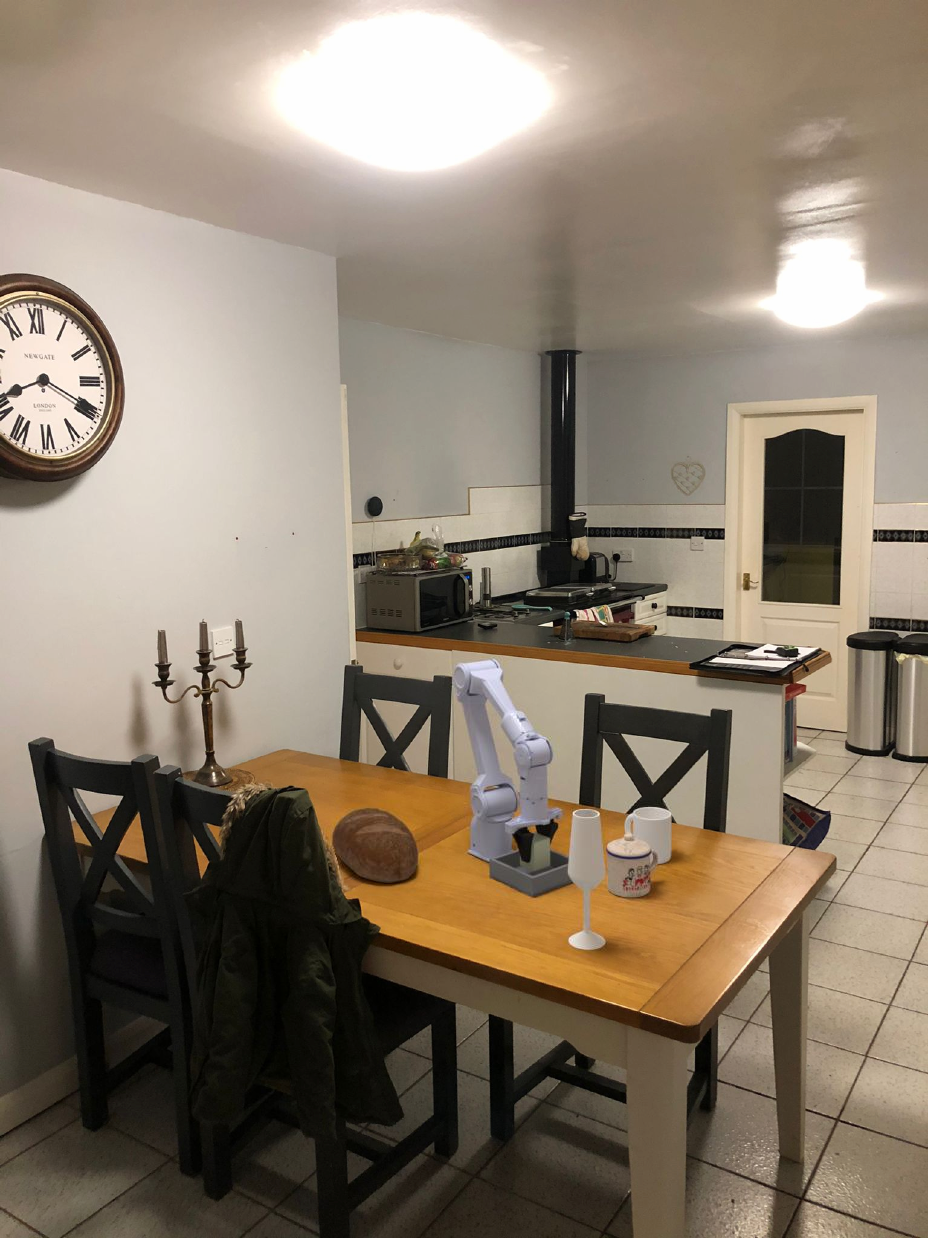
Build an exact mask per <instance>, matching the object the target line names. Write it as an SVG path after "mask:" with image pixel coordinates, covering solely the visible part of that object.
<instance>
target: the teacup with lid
mask: <svg viewBox="0 0 928 1238" xmlns="http://www.w3.org/2000/svg"><path fill="white" fill-rule="evenodd" d="M605 851H606V852H607V855H606V856H607V862H606V863H607V866H606V868H607V870H606V871H607V874H606V875H607V881H606V882H607V885H606V886H607V889H608V891H609V892H610V893H611V894H613V895H616V896H618V897H621V898H632V899H633V898H639V897H644V896H646V895H647V894H649V892H650V891H651V874H652V873H653V872H654V871H655V870H656V868H657V865H658V864H657V863H658V854H657V852H656V851H654V850H652V849H651V847H650V846H649V845H648V844H647V843H646V842H643V841H640V840H638V839H636V838H634V836H633V833H632V834H630V833H627V834H626V833H625V834H624V835H623V837H622V838H619V839H615V840H612V841H610V842H609V843H608V844H607V845H606V848H605ZM651 853H652V854H653V861H652V864H650V854H651Z"/></svg>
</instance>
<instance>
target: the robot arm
mask: <svg viewBox="0 0 928 1238" xmlns="http://www.w3.org/2000/svg"><path fill="white" fill-rule="evenodd" d="M452 682H453V687H454V690H455V694H456V699H457V702H459V703H461V707H462V712H463V717H464V719H465V724H466V729H467V732H468V738H469V741H470V745H471V749H472V754H473V759H474V762H475V767H476V771H477V778H476V779H475V780H474V782H473V783H472V784H471V786H470V788H469V792H470V807H471V811H472V814H473V815H474V816H473V818H472V819H471V822H470V826H469V827H470V828H469V829H470V849H468V850H467V853H468V854H471V855H473V856H474V857H477V858H479V859H481V860H483V861H485V862H487V863H489V859H491V858H494V857H497V856H500V855H503V854H506V853H509V852H512V851H515V850H513V839H514V841H515V844H516V846H517V850H518V849H519V853H520V857H521V861H524V862H526V863H529V862H530V860H531V845H532V840H533V837H534V833H535V832H531V831H530V829H529V828H531V827H535V830H536V833H538V834H541V835H543V836H546V837H548V838H550V846H552V845H551V844H552V841H553V839H554V836H555V834H556V832H557V831H558V829H559V823H558V822H557V821H555V820H556V819H557V820H561V819H563V809H561V808H560V807H553V808H548V807H549V806H548V805H549V804H548V801H549V800H548V796H549V795H548V794H549V793H548V765H550V764H551V763H552V761H553V759H554V751H553V746H552V744H551V742H550V740H549V739H548V738H547V737H545V736H542V735H541V734H540V733H537V731H536V730H535V728H534V727H533V724H532V723H531V722H530V720H529V719H528V717H527V715H526V714H525V713H524V711H520V710H517V709H516V707H515V705H514V703H513V701H512V699H511V697H510V694H509V693H508V691H507V689H506V688H505V685H504V670H503V669H502V666H501V665H500V663H499V661H498V660H497V659H494V658H492V659H487V660H481V661H472V662H465V663H463V662H459V663H457V664H456V666H455V668H454V670H453V673H452ZM487 700H488V701H489V702H490V704H491V705H492V707H493V708H494V710H495V711H496V712H497V713H498V715H499V716H500V718H501V720H502V721H501V723H500V726H501V727H500V728H501V729H502V731H503V732H504V734H505V736H506V738H508V741H509V742H510V744H511V746H512V747H513V749H514V751H513V759H514V762H515V764H516V772H517V774H518V775H517V776H519V792H518V790H517V789H516V787H515V784H514V781H513V778H512V777H511V776H509V775H507V774H506V773H504V772H502V770H501V766H500V762H499V757H498V754H497V749H496V744H495V741H494V737H493V732H492V728H491V723H490V719H489V715H488V712H487V707H486V703H487ZM492 787H493V788H492ZM488 788H489V789H488ZM519 807H520V809H519ZM517 811H520V814H519V815H518V816H516V817H515V813H516V812H517Z"/></svg>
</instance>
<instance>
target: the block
mask: <svg viewBox="0 0 928 1238" xmlns="http://www.w3.org/2000/svg"><path fill="white" fill-rule="evenodd" d="M533 833H534V837H533V840H532V845H531V860H530V862H529V863H526V862H524V861H521V857H520V865H522V866H524V867H526V868H529V869H531V870H533V871H536V870H539V869H542V868H544V867H547V866H550V849H551V845H550V838H548V837H546V836H543V835H541V834H538V833H537V831H536V832H533Z"/></svg>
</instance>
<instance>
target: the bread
mask: <svg viewBox="0 0 928 1238" xmlns="http://www.w3.org/2000/svg"><path fill="white" fill-rule="evenodd" d="M333 829H334V830H333V832H332V837H331V839H332V841H331V843H332V847H334V848H333V850H335V851H334V852H335V854H336V855H337V856H338V858H340V860H341V861H342V862H343V863H344V864H345V865H346V866H347V867H348V868H350V869H351V870H353V872H354V873H355V874H357V875H358V876H359V877H361V878H364V879H366V880H367V879H368V880H370V881H376V882H379V883H387V884H388V883H389V884H390V883H391V884H392V883H396V882H397V883H398V882H401V881H405V880H407V879H410V877H411V876H412V875H413V874H414V873H415V871H416V869H417V866H418V862H419V852H418V847H417V842H416V840H415V838H414V836H413V833H412V832H411V830H410V829H409V828H408V826H407V825H406V824H405V823H404V822H403V821H402V820H401V819H399V818H398V817H396V816H395V815H393V814H392V813H390V812H389V811H386V810H381V809H379V808H373V807H366V808H359V809H355V810H353V811H351V812H349V813H347V814H346V815H345V816H343V817H342V818H341V819H340V820H339V821H338V823H337V824H336V825H335V826H334V828H333Z"/></svg>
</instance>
